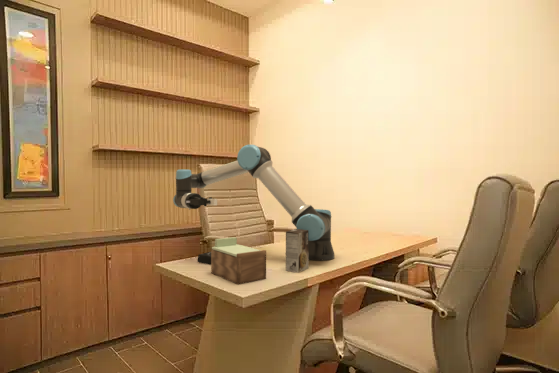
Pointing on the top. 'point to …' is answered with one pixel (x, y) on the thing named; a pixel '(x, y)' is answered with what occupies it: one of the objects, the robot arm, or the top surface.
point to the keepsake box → (239, 266)
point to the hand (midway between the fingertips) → (215, 202)
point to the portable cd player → (205, 258)
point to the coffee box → (297, 250)
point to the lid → (231, 246)
